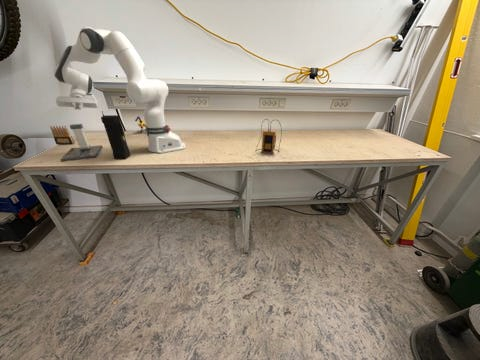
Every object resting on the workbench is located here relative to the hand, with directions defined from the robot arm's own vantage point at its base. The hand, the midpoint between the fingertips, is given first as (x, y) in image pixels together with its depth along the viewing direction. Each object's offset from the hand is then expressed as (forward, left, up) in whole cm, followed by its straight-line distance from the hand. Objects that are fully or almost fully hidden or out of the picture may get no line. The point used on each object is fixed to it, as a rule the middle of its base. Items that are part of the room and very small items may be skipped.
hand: (77, 108), depth 117 cm
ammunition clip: (+16, -7, -23) cm, 29 cm away
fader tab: (0, +13, -21) cm, 25 cm away
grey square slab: (0, +18, -23) cm, 29 cm away
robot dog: (-32, -19, -23) cm, 44 cm away
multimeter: (-105, +49, -23) cm, 118 cm away
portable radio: (-22, +31, -23) cm, 44 cm away
